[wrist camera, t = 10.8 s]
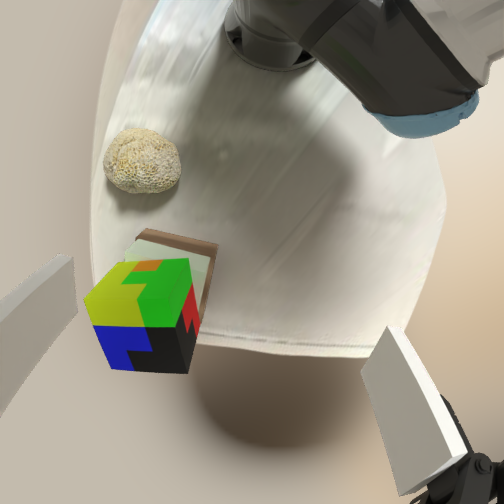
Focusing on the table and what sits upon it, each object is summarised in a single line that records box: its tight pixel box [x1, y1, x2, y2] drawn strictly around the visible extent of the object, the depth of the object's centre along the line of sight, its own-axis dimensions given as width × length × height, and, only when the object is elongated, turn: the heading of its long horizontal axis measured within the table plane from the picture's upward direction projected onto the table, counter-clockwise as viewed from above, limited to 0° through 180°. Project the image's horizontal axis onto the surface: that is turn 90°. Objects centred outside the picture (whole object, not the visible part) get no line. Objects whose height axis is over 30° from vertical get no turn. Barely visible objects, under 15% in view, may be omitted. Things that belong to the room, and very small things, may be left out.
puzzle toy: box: [84, 258, 200, 374], centre depth 33 cm, size 10×10×10 cm
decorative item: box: [103, 128, 181, 194], centre depth 38 cm, size 12×9×10 cm
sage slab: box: [124, 239, 210, 312], centre depth 40 cm, size 11×11×5 cm
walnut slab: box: [135, 228, 218, 323], centre depth 45 cm, size 12×12×5 cm
